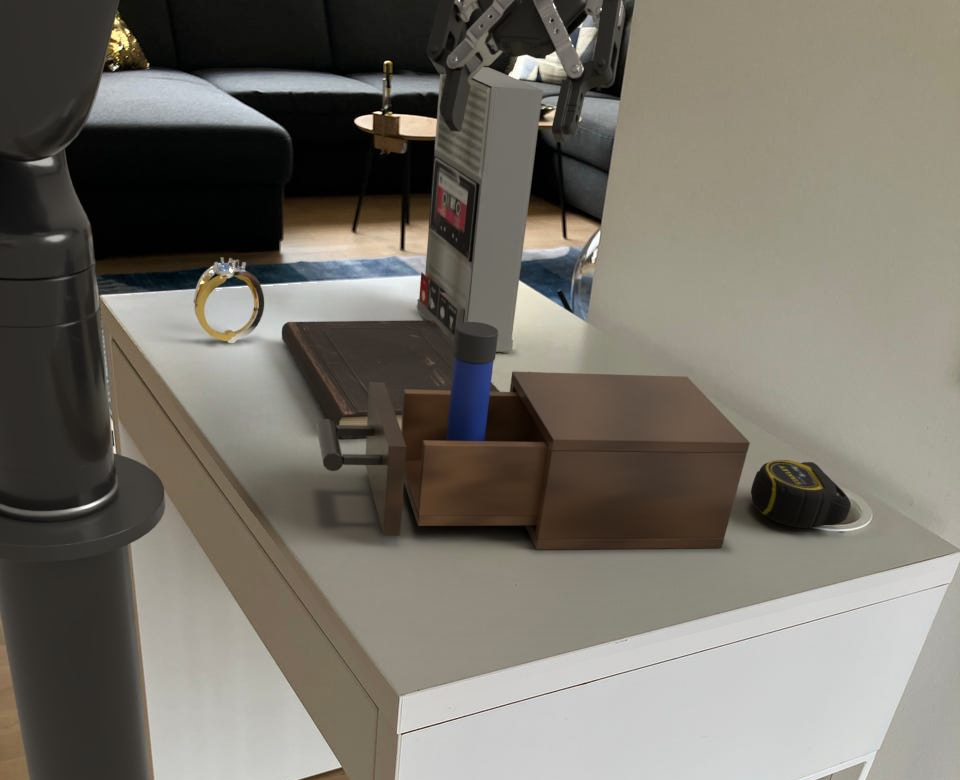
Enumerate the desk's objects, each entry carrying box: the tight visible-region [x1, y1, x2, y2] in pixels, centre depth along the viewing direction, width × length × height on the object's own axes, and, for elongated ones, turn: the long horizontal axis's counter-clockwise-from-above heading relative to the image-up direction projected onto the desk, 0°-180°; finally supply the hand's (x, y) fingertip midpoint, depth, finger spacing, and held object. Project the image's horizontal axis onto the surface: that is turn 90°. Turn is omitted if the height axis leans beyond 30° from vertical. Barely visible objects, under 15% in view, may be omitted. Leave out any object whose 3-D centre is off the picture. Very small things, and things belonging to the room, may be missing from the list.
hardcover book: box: [281, 319, 501, 440], centre depth 100 cm, size 16×23×2 cm
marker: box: [446, 322, 498, 441], centre depth 77 cm, size 3×3×12 cm
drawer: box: [316, 382, 549, 536], centre depth 79 cm, size 18×12×7 cm, turn 101°
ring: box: [193, 257, 265, 344], centre depth 104 cm, size 7×3×8 cm, turn 120°
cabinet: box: [509, 371, 751, 550], centre depth 82 cm, size 15×13×9 cm
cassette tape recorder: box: [416, 66, 544, 354], centre depth 109 cm, size 14×6×25 cm, turn 21°
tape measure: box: [750, 459, 852, 529], centre depth 86 cm, size 7×7×4 cm
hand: (504, 132), depth 80 cm, fingers open, 8 cm apart
